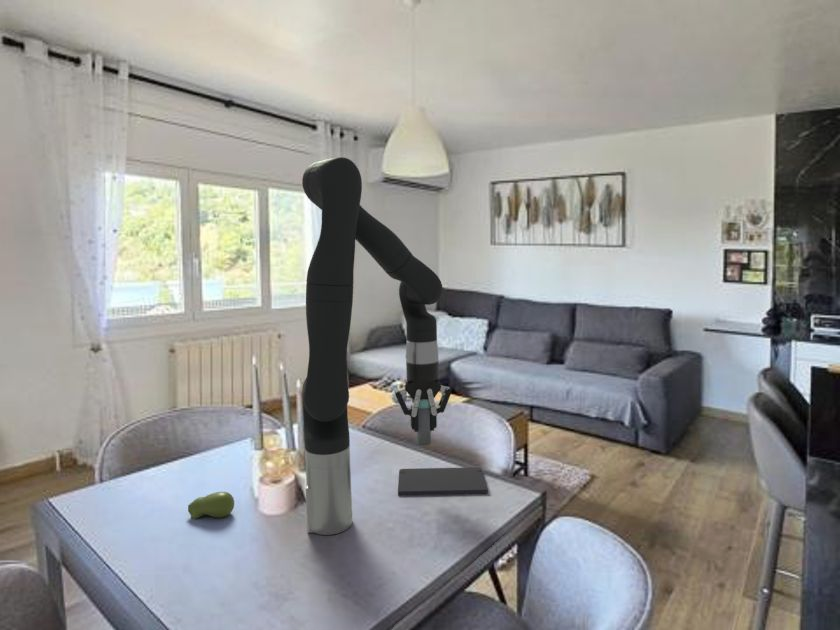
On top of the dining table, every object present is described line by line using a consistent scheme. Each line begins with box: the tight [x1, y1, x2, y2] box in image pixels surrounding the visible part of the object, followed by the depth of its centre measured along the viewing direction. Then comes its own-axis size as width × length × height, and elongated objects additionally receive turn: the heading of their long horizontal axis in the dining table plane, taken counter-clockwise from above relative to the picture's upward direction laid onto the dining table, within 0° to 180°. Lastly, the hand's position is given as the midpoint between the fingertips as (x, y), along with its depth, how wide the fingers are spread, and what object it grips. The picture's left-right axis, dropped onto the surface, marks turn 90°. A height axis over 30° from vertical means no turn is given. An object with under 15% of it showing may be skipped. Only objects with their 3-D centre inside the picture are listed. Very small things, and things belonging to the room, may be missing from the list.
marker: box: [416, 399, 432, 446], centre depth 124 cm, size 4×4×11 cm
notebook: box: [397, 466, 488, 497], centre depth 130 cm, size 13×2×21 cm
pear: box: [187, 491, 235, 520], centre depth 116 cm, size 6×5×10 cm
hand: (423, 429), depth 124 cm, fingers closed on marker, 3 cm apart
